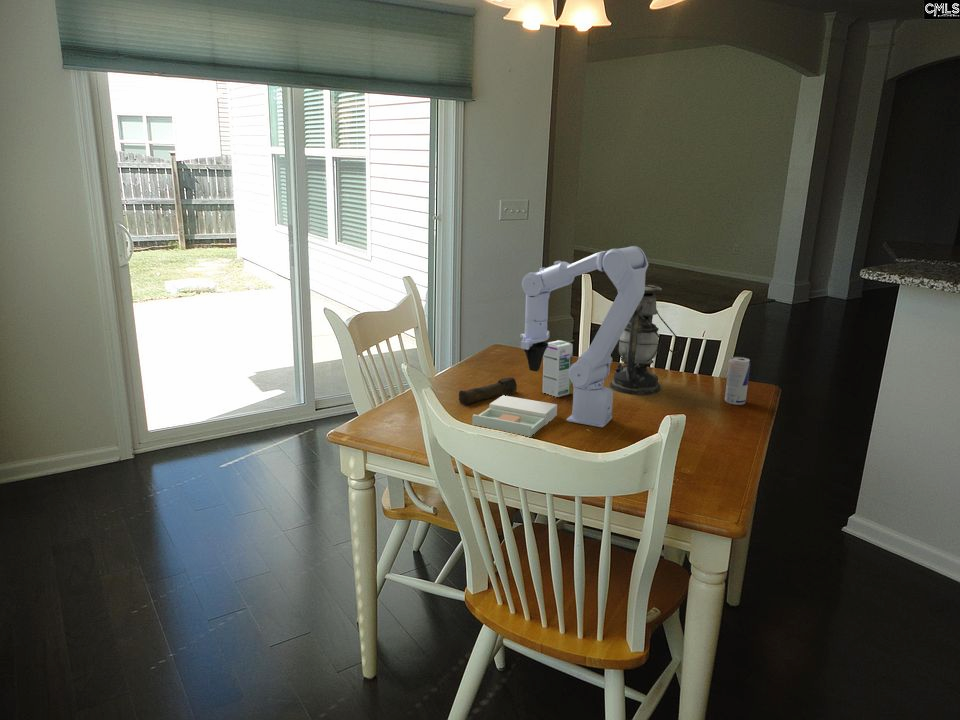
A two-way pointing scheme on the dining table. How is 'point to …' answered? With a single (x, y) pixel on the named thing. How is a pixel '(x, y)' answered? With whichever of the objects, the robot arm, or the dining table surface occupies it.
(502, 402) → the white drawer casing
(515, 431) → the tray
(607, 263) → the robot arm
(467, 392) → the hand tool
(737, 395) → the energy drink
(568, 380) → the syrup box
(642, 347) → the lantern
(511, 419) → the terracotta tile
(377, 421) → the dining table surface
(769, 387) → the dining table surface
